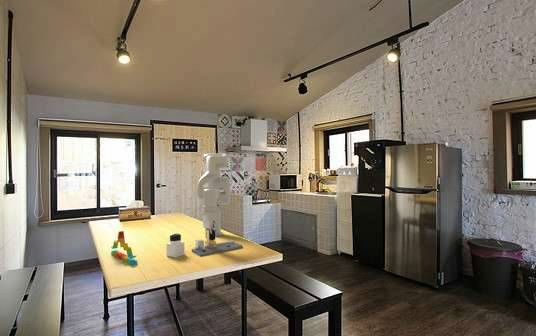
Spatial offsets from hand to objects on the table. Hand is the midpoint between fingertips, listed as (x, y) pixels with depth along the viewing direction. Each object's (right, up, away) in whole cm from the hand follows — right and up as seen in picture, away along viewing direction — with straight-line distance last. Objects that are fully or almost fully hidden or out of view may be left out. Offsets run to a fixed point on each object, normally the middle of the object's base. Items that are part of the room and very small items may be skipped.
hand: (210, 238), depth 183 cm
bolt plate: (+5, -6, -1) cm, 8 cm away
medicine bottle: (-18, -7, -11) cm, 22 cm away
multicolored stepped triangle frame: (-45, -8, -16) cm, 48 cm away
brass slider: (+1, -4, -2) cm, 5 cm away
